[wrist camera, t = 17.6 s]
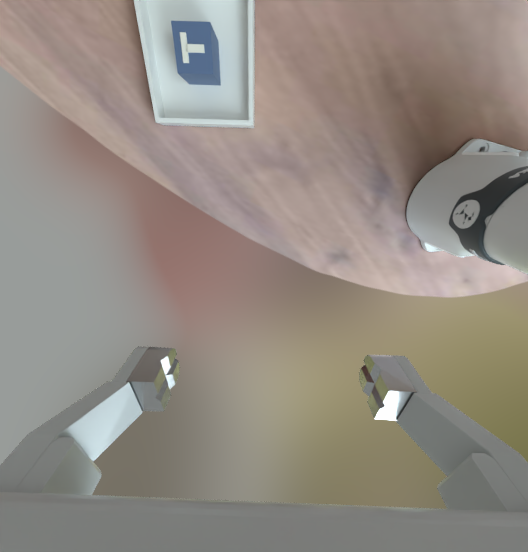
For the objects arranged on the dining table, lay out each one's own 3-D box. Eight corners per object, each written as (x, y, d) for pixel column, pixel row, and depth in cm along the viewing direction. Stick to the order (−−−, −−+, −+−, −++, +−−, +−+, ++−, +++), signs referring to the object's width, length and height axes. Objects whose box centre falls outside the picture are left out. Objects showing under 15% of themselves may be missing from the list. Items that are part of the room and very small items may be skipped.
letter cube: (218, 41, 28) (209, 21, 24) (220, 85, 30) (213, 73, 26) (184, 40, 28) (170, 19, 24) (189, 84, 30) (177, 72, 26)
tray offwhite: (254, -10, 26) (253, -28, 24) (254, 128, 33) (252, 125, 31) (142, -13, 26) (128, -32, 24) (164, 125, 33) (155, 122, 31)
